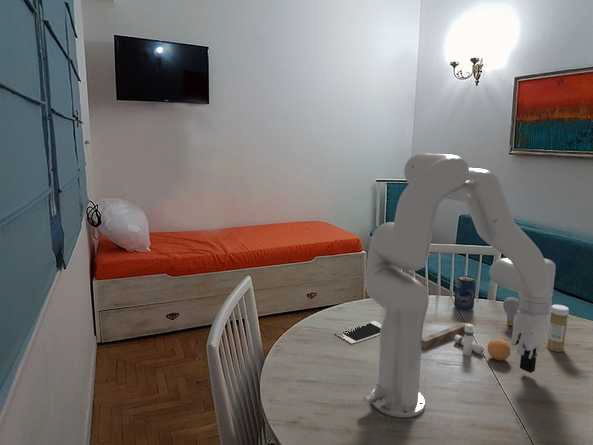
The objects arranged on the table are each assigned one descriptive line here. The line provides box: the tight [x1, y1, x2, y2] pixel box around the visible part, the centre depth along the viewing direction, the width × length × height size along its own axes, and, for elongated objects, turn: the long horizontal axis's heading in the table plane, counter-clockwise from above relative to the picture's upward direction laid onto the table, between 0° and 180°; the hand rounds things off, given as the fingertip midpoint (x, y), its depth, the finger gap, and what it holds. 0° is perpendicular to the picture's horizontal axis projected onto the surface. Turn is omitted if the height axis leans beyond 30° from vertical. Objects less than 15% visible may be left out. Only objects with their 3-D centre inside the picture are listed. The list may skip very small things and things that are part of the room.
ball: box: [487, 338, 512, 361], centre depth 125 cm, size 6×6×6 cm
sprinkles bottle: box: [546, 304, 570, 353], centre depth 130 cm, size 5×5×13 cm
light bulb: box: [502, 296, 519, 327], centre depth 147 cm, size 6×6×10 cm
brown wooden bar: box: [421, 322, 468, 350], centre depth 138 cm, size 22×2×2 cm, turn 125°
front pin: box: [453, 335, 485, 355], centre depth 131 cm, size 2×2×9 cm
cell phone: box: [341, 320, 382, 345], centre depth 142 cm, size 9×18×1 cm, turn 124°
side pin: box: [462, 323, 475, 357], centre depth 127 cm, size 2×2×9 cm
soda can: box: [453, 275, 477, 313], centre depth 161 cm, size 7×7×12 cm
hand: (527, 369), depth 116 cm, fingers closed
